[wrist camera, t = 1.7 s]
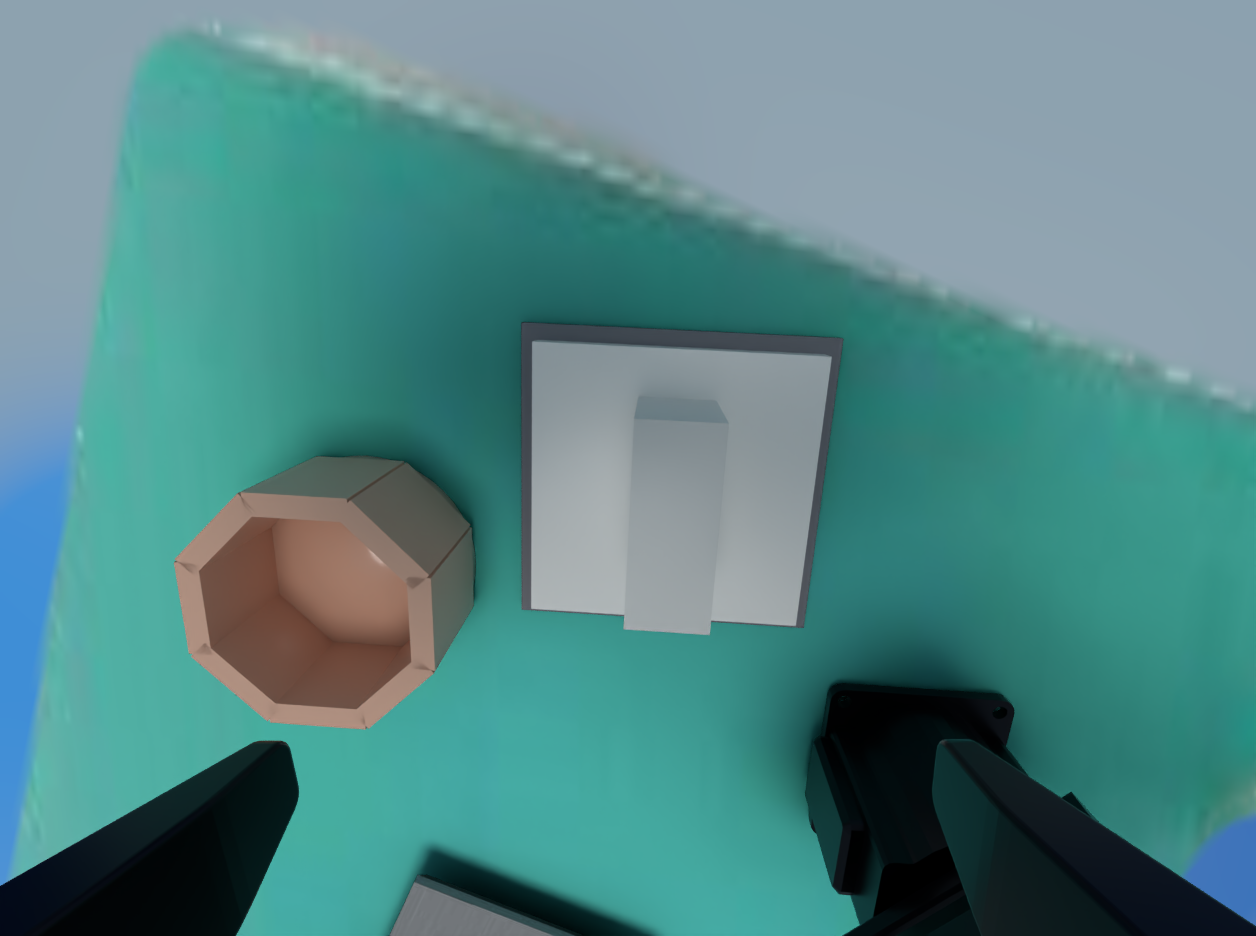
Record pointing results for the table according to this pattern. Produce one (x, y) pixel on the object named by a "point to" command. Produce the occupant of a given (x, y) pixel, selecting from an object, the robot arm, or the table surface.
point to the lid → (673, 481)
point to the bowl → (328, 590)
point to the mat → (672, 339)
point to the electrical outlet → (464, 914)
